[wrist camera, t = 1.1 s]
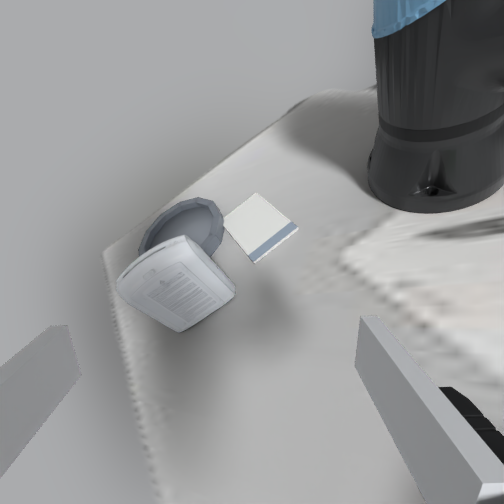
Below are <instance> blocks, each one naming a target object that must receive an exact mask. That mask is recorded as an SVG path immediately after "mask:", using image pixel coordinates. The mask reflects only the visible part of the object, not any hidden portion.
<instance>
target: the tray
mask: <svg viewBox="0 0 504 504" xmlns="http://www.w3.org/2000/svg"><path fill="white" fill-rule="evenodd" d="M223 224H224V219H223V216H222V214H221V212H220V210H219V208H218V207H217V206H216V204H215V203H214V202H213V201H211V200H207V199H203V198H199V197H197V198H193V199H189V200H186V201H182V202H180V203H177V204H176V205H174V206H173V207H171V208H170V209H168V210H167V211H165V212H164V213H162V214H161V215H160V216H159V217H158V218H157V219H156V221H155V222H154V223H153V224H152V225H151V226H150V228H149V229H148V230H147V231H146V233H145V235H144V238H143V240H142V242H141V245H140V247H139V250H138V251H139V257H140V256H141V255H142V254H144V253H145V252H147V251H148V250H150V249H152V248H153V247H155V246H157V245H159V244H161V243H163V242H165V241H167V240H169V239H172V238H175V237H178V236H181V235H186V236H188V237H189V238H190V239H191V240H192V241H194V242H195V243H197V244H198V245H199V246H200V247H201V248H202V249H203V251H204V252H205V253H206V254H207V255H208V256H209V257H211V256H212V254H213V253H214V252H215V250H216V249H217V248H218V246H219V245H220V244H221V242H222V237H223V233H224V228H225V227H224V226H223Z"/></svg>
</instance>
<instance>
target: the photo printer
mask: <svg viewBox="0 0 504 504" xmlns="http://www.w3.org/2000/svg"><path fill="white" fill-rule="evenodd" d="M116 285H117V287H116V290H117V292H118V294H119V295H120V296H121V298H122V299H123V300H124V301H125V302H126V303H128V304H129V305H131V306H133V307H134V308H136V309H138V310H140V311H141V312H143V313H145V314H147V315H148V316H150V317H152V318H153V319H155V320H157V321H159V322H160V323H162V324H164V325H166V326H167V327H169V328H171V329H172V330H174V331H176V332H182V331H184V330H186V329H188V328H190V327H191V326H193V325H194V324H196V323H197V322H199V321H200V320H202V319H203V318H205V317H206V316H208V315H209V314H211V313H212V312H214V311H215V310H217V309H218V308H220V307H221V306H223V305H224V304H226V303H227V302H228V301H230V300H231V299H232V298H233V297H234V296H235V285H234V283H233V282H232V281H231V280H230V279H229V278H228V277H227V276H226V274H225V273H224V272H223V271H222V270H221V269H220V268H219V267H218V266H217V265H216V264H215V262H214V261H213V260H212V259H211V258H210V257H209V256H208V255H207V254H206V253H205V252H204V251H203V249H202V248H201V247H200V246H199V245H198V244H197V243H195V242H194V241H192V240H191V239H190V238H189V237H188V236H186V235H181V236H178V237H175V238H172V239H169V240H167V241H165V242H163V243H161V244H159V245H157V246H155V247H153V248H152V249H150V250H148V251H147V252H145V253H144V254H142V255H141V256H140V257H138V258H137V259H136V260H135V261H133V262H132V263H131V264H130V265H129V266H128V267H127V268H126V269H125V270H124V271H123V272H122V274H121V275H120V276H119V277H118V279H117V280H116Z"/></svg>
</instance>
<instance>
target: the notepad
mask: <svg viewBox="0 0 504 504" xmlns="http://www.w3.org/2000/svg"><path fill="white" fill-rule="evenodd" d="M223 219H224V224H223V226H224V227H225V228H226V230H227V231H228V232H229V233H230V234H231V236H232V237H233V238H234V239H235V241H236V242H237V243H238V244H239V245H240V247H241V248H242V249H243V250H244V251H245V253H246V254H247V255H248V256H249V258H250V259H251V260H252V261H253V262H254V264H255V263H257V262H258V261H259V260H261V259H262V258H263V257H264V256H266V255H267V254H268V253H269V252H271V251H272V250H273V249H274V248H276V247H277V246H278V245H279V244H281V243H282V242H283V241H284V240H286V239H287V238H288V237H290V236H291V235H292V234H293V233H295V232H296V231H297V230H298V229H299V228H298V227H297V226H296V225H295V224H294V223H293V222H291V221H290V220H289V219H288V218H286V217H285V216H284V215H283V214H282V213H280V212H279V211H278V210H277V209H276V208H274V207H273V206H272V205H271V204H270V203H269V202H267V201H266V200H265V199H264V198H263V197H261V196H260V195H259V194H258V193H257V192H256V193H255V194H254V195H252V196H251V197H250V198H248V199H247V200H246V201H245V202H243V203H242V204H241V205H239V206H238V207H237V208H236V209H234V210H233V211H232V212H230V213H229V214H228V215H227V216H225V217H224V218H223Z"/></svg>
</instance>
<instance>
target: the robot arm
mask: <svg viewBox="0 0 504 504" xmlns="http://www.w3.org/2000/svg"><path fill="white" fill-rule="evenodd" d="M372 36H373V38H374V47H375V63H376V79H377V95H378V110H379V128H378V131H377V134H376V138H375V144H374V148H373V150H372V151H371V154H370V156H369V159H368V166H367V171H368V181H369V185H370V188H371V190H372V191H373V193H374V194H375V195H376V196H377V197H378V198H379V199H380V200H381V201H383V202H384V203H386V204H388V205H390V206H392V207H395V208H398V209H401V210H405V211H410V212H417V213H441V212H449V211H454V210H459V209H463V208H466V207H469V206H472V205H474V204H477V203H479V202H481V201H483V200H485V199H486V198H488V197H490V196H491V195H493V194H494V193H495V192H496V191H498V190H499V189H500V188H501V187H502V186H503V184H504V0H374V23H373V26H372ZM355 368H356V370H357V371H358V373H359V375H360V377H361V379H362V381H363V383H364V385H365V387H366V389H367V391H368V392H369V394H370V396H371V398H372V400H373V402H374V404H375V406H376V408H377V410H378V412H379V413H380V415H381V417H382V419H383V421H384V423H385V425H386V427H387V429H388V431H389V433H390V434H391V436H392V438H393V440H394V442H395V444H396V446H397V448H398V450H399V452H400V454H401V455H402V457H403V459H404V461H405V463H406V465H407V467H408V469H409V471H410V473H411V474H412V476H413V478H414V480H415V482H416V484H417V486H418V488H419V490H420V492H421V494H422V495H423V497H424V499H425V501H426V503H427V504H504V436H503V435H502V434H501V433H500V432H499V431H496V429H495V427H494V426H493V424H492V423H491V422H490V421H489V420H488V419H487V418H484V416H483V414H482V413H481V412H480V411H479V409H478V408H477V407H476V406H475V405H474V404H473V403H472V402H471V401H470V400H469V399H468V398H466V397H465V396H464V395H462V394H461V393H459V392H458V391H456V390H455V389H453V388H452V387H437V385H436V384H435V383H434V382H433V381H432V379H431V378H430V377H429V376H428V375H427V374H426V372H425V371H424V370H423V369H422V368H421V366H420V365H419V364H418V363H417V362H416V361H415V359H414V358H413V357H412V356H411V355H410V353H409V352H408V351H407V350H406V349H405V348H404V346H403V345H402V344H401V343H400V342H399V340H398V339H397V338H396V337H395V336H394V335H393V333H392V332H391V331H390V330H389V329H388V328H387V326H386V325H385V324H384V323H383V322H382V320H381V319H380V318H379V317H378V316H360V324H359V332H358V341H357V350H356V359H355ZM81 375H82V374H81V371H80V368H79V364H78V360H77V357H76V353H75V350H74V346H73V343H72V339H71V336H70V332H69V329H68V326H67V325H63V326H50V327H49V328H47V329H46V330H45V331H44V332H42V333H41V334H40V335H39V336H38V337H36V338H35V339H34V340H33V341H31V342H30V343H29V344H28V345H27V346H25V347H24V348H23V349H22V350H21V351H19V352H18V353H17V354H16V355H15V356H13V357H12V358H11V359H10V360H9V361H7V362H6V363H5V364H4V365H2V366H1V367H0V478H1V477H2V476H3V474H4V473H5V472H6V471H7V469H8V468H9V467H10V465H11V464H12V463H13V462H14V460H15V459H16V458H17V456H18V455H19V454H20V453H21V451H22V450H23V449H24V448H25V446H26V445H27V444H28V443H29V441H30V440H31V439H32V437H33V436H34V435H35V434H36V432H37V431H38V430H39V429H40V427H41V426H42V425H43V423H44V422H45V421H46V420H47V418H48V417H49V416H50V415H51V413H52V412H53V411H54V409H55V408H56V407H57V406H58V404H59V403H60V402H61V400H62V399H63V398H64V397H65V395H66V394H67V393H68V392H69V390H70V389H71V388H72V386H73V385H74V384H75V383H76V381H77V380H78V379H79V378H80V376H81Z"/></svg>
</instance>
